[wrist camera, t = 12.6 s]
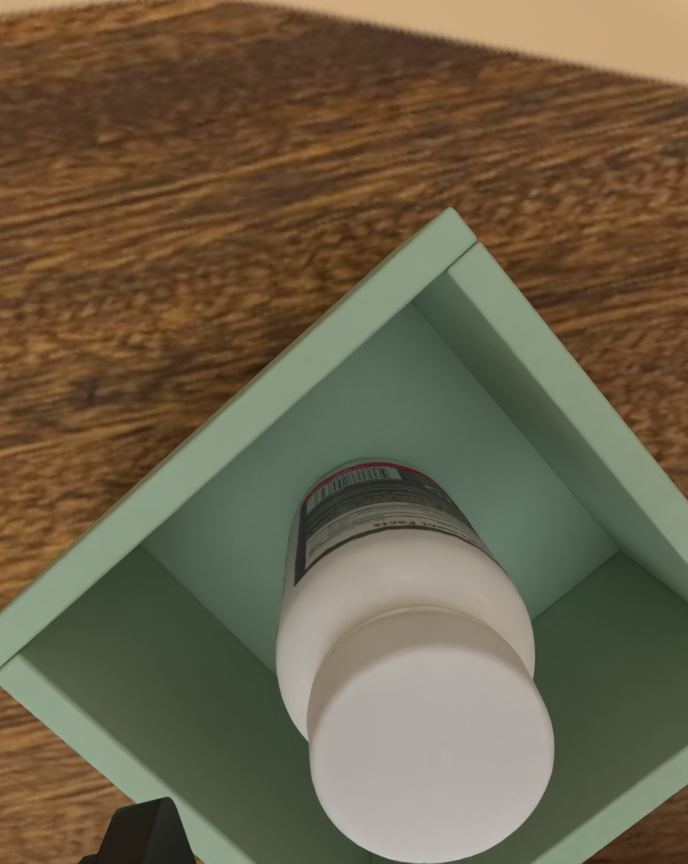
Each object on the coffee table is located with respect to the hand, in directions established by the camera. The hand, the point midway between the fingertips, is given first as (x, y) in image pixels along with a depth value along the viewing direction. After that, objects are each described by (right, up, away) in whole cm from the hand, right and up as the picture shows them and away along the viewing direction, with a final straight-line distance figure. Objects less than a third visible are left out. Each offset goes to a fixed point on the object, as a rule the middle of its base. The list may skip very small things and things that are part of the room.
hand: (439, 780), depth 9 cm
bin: (0, +2, +11) cm, 11 cm away
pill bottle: (-1, +2, +10) cm, 10 cm away
